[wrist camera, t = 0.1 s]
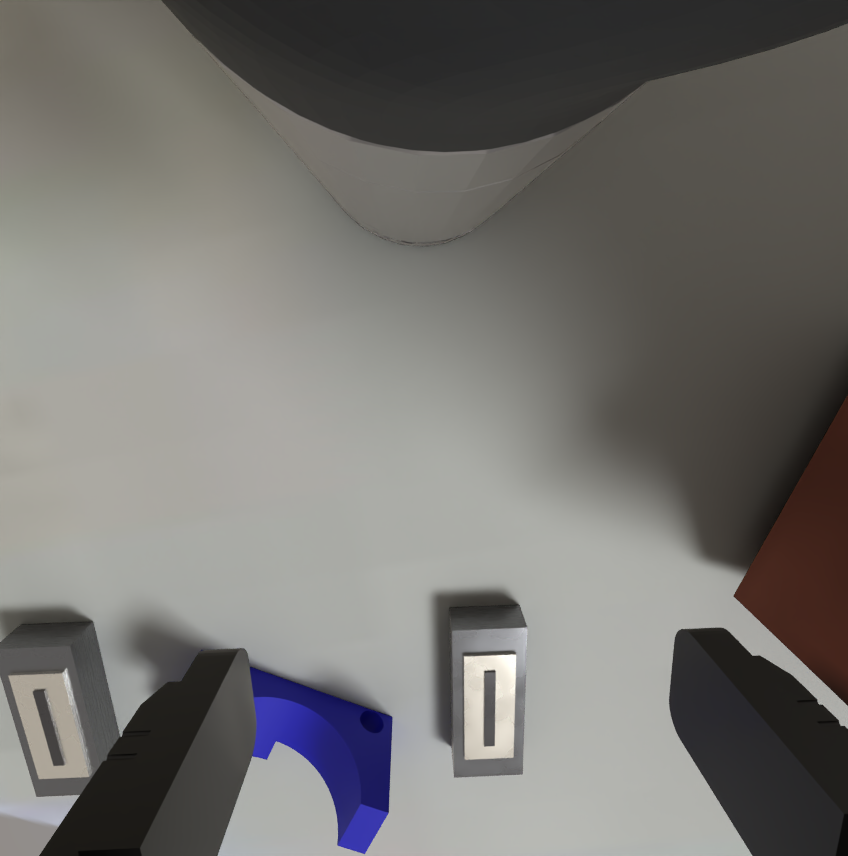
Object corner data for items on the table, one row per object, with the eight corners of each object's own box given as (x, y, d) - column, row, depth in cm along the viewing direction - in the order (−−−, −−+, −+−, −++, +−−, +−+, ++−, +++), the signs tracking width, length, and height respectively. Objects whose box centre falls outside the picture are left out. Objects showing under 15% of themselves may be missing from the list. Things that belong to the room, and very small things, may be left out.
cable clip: (178, 705, 31) (124, 804, 25) (202, 647, 29) (152, 736, 24) (363, 767, 32) (353, 873, 26) (392, 714, 31) (388, 812, 25)
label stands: (20, 624, 29) (-13, 653, 26) (519, 604, 29) (528, 631, 27) (59, 765, 31) (32, 801, 29) (515, 744, 32) (523, 779, 30)
